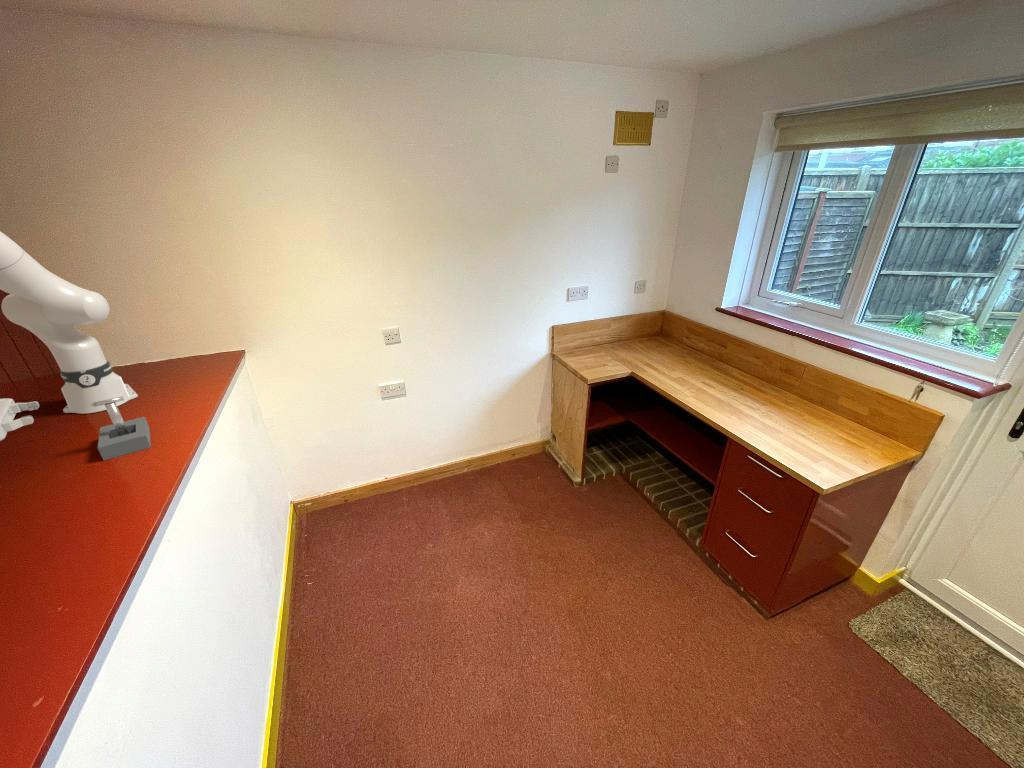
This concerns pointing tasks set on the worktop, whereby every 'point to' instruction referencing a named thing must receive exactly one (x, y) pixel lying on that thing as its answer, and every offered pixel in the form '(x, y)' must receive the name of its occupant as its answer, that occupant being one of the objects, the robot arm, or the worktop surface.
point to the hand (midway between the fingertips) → (35, 411)
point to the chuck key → (114, 414)
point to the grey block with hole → (124, 439)
